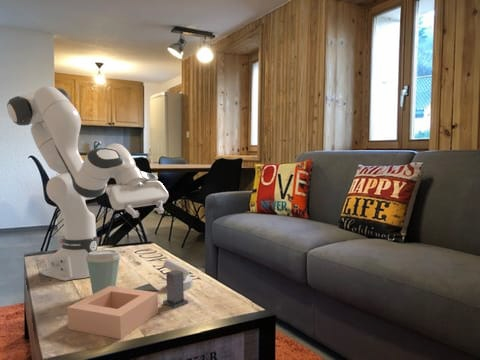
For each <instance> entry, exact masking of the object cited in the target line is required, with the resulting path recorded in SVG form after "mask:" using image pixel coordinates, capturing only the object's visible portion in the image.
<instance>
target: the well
mask: <svg viewBox="0 0 480 360" xmlns="http://www.w3.org/2000/svg"><path fill="white" fill-rule="evenodd" d="M66 308H67V310H66V311H67V326H68V327H67V328H68V330H72V331H76V332H77V331H78V332H83V333H87V334H92V335H97V336H102V337H108V338H113V339H116V340H122V339H123V338H125V337H127V336H128V335H130V334H131V333H132V332H133V331H135V330H136V329H138V328H139V327H141V326H142V325H143V324H144V323H146V322H147V321H149V320H150V319H151V318H152V317H154V316H156V315H157V314H158V313H159V300H158V292H155V291H148V290H142V289H135V288H134V289H133V288H129V287H128V288H126V287H120V286H116V287H114V286H108V287H106V288H104V289H102V290H100V291H98V292H96V293H94V294H93V293H92V294H91V295H89V296H87V297H85V298H83V299H81V300H79V301H77V302H75V303H73V304H71V305H69V306H67V307H66Z"/></svg>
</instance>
